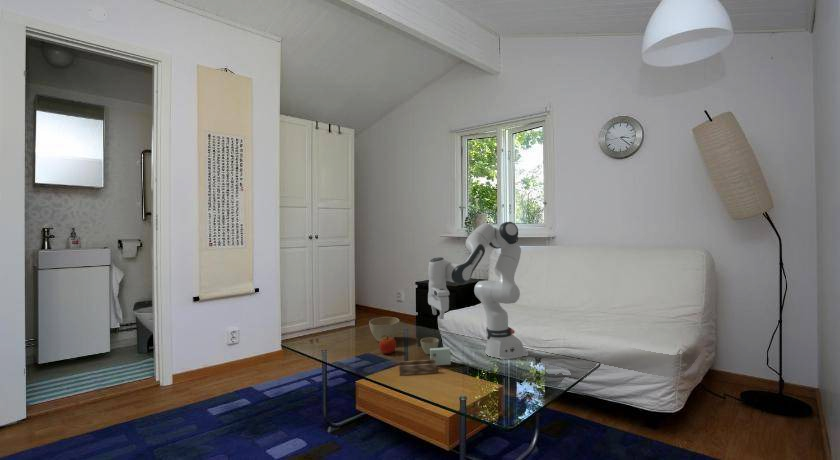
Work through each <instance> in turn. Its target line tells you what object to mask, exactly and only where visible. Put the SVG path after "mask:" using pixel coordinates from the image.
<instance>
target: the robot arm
mask: <svg viewBox="0 0 840 460" xmlns="http://www.w3.org/2000/svg"><path fill="white" fill-rule="evenodd" d="M518 240H519V229H518V226H517V225H516V223H514V222H512V221H505V222H503V223H501V224H500V225H498V226H497V227H494V226H493V225H492V224H490V223H487V222H485V223H481V224H480V225H479V226H477V227H476V228H475V229H474V230H473V231H471V233H470V234H469V235H468V237H467V238H466V240H465V247H466V249H467V250H468V252H469V253H470V254H469V256H468V257H467V258H466V260H465V262H462V263H454V262H450V261H448V260H446V259H445V258H444V257H433V258H432V259H430V260H429V263H428V270H427V271H428V272H427V273H428V275H427V276H428V279H429V280H428V293H427V303H428V305H429V306H431V310H432V311H431V312H432V315H433V316H436V315H437V314H438V313H437V310H438V311H439V315H438V316H439V317H438V318H439V319H440V320H444V318H445V316H444V315H445V312H448V311H449V309H450V297H449V296H450V291H449V289H448V288H447V282H451V283H455V284H458V285H460V286H461V285H462V286H463V285H466V284H467V283H469V281H470V280H471V278H472V275H473V273H474V271H475V270H476V268H477V266H478V265H479V264H480V262H481V261H482V259H483V258H484V255H485V254H486V248H488V246H490V247H491V248H493V249H500V253H499V255H498V258H497V260H496V263H495V266H494V273H495V275H496V276H497V277H498V278H499V279H498V280H487V279H486V280H479V281H478V282H477V283H476V284H475V285H474V288H473V289H474V290H473V292H474V295H475V297H476V298H477V299H478V300H479V301H480V303H481V304H482V306H483V309H484V311H485V316H486V333H485V337H486V346H485V351H484V354H485V353H486V354H487V355H488V356H487V355H486V354H485V355H486V356H487V357H489V356H491V357H490V358H492V357H498V358H500V359H506V360H512V359H519V358H523V357H522V356H526V357H528V356H529V351H528V350H527V349H526V348H525V347H524V344H523V342H522V341H521V339H520V338H518V337H517V336H516V335H514V334H515V330H514V329H513V328H511V327H510V326H509V315H508V312H507V311H506V310H505V309H504V308H503V307H502V306H501V304H505V305H508V304H516V303H517V302H518V301H519V300H520V297H521V291H520V288H519V286H518V285H517V284H516V282H515V275H516V272H517V268H518V266H519V263H520V259H521V253H522V249H521V247H520V245H519V244H517V243H518ZM518 357H519V358H518ZM500 359H499V360H500Z"/></svg>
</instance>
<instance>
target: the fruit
mask: <svg viewBox="0 0 840 460" xmlns="http://www.w3.org/2000/svg"><path fill="white" fill-rule="evenodd" d="M382 337H386V338H382ZM382 337H381V338H382V339H381V340H380V342H379V341H378V343H379V344H378V347H379V351H380V352H381V353H383V354H384V355H386V354H387V355H389V354H392V353H394V352H395V350H396V348H397V341H396V339H395V337H394V338H392V337H388V336H385V335H383V336H382Z"/></svg>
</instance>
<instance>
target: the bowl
mask: <svg viewBox="0 0 840 460" xmlns="http://www.w3.org/2000/svg"><path fill="white" fill-rule="evenodd" d="M439 342H440V339H438V338H436V337H424V338H421V339H420V346H421V349H422V350H423V352H424V353H425V355H429V356H430V348H439Z"/></svg>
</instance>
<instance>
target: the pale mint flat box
mask: <svg viewBox="0 0 840 460" xmlns="http://www.w3.org/2000/svg"><path fill="white" fill-rule="evenodd" d="M429 357H430V359H429V360H433V359H435V363H436V366H447V365H448V366H449V365H451V364H452V362H451V348H450V347H449V346H447V347H445V346H444V347H437V348H430V355H429Z"/></svg>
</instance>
